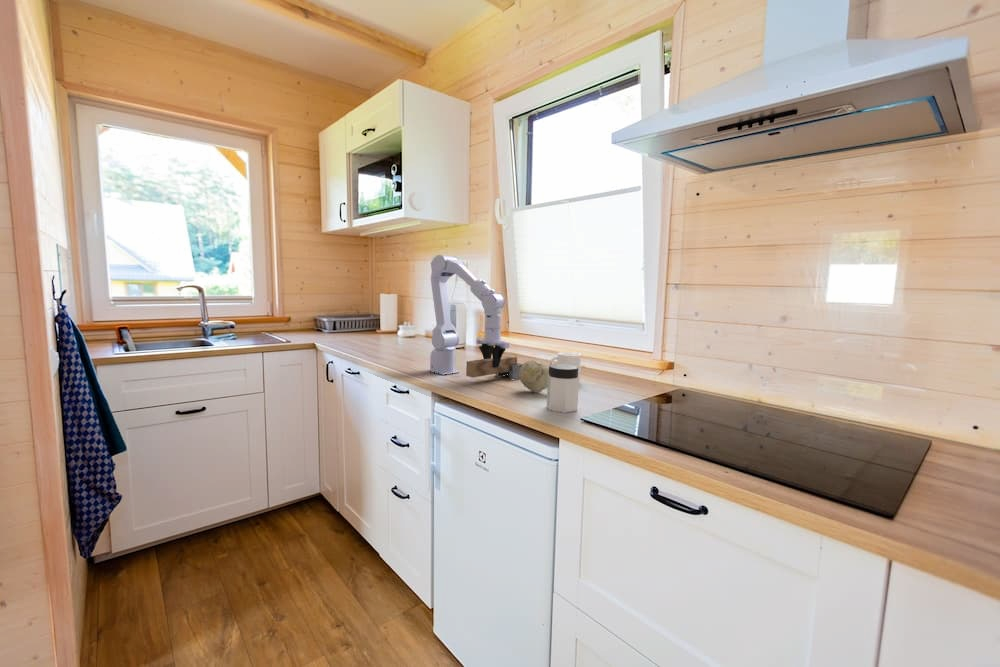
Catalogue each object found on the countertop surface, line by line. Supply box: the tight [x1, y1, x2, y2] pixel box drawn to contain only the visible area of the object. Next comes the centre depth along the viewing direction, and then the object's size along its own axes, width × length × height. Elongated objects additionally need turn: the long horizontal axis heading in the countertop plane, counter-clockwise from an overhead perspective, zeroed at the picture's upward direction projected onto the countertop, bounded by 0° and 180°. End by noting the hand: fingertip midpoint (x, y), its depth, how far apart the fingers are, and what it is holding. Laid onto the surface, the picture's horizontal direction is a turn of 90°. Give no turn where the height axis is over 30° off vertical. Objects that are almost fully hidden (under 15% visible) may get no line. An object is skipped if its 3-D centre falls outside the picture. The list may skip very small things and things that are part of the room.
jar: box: [546, 363, 580, 414], centre depth 123 cm, size 9×8×12 cm
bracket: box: [495, 362, 524, 380], centre depth 164 cm, size 10×7×5 cm
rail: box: [465, 355, 518, 378], centre depth 157 cm, size 22×4×5 cm, turn 136°
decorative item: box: [518, 360, 550, 394], centre depth 142 cm, size 12×9×10 cm
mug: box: [549, 351, 582, 382], centre depth 159 cm, size 12×8×10 cm
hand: (491, 366), depth 157 cm, fingers closed on rail, 3 cm apart
